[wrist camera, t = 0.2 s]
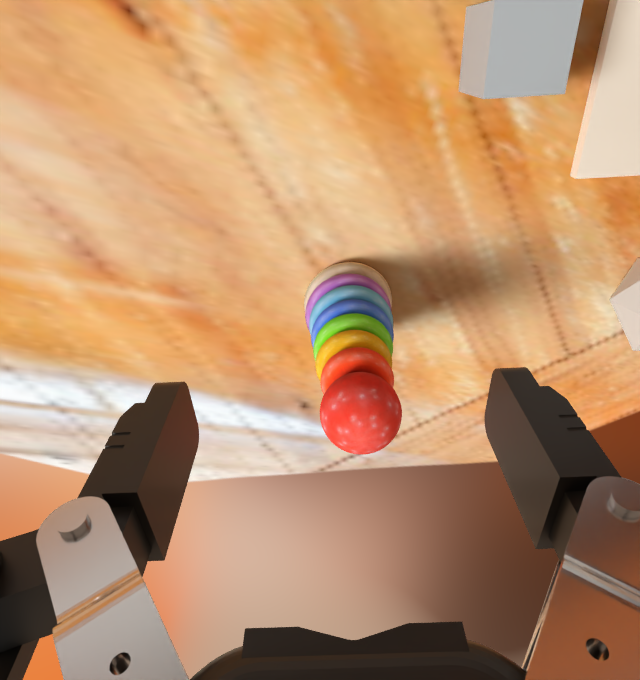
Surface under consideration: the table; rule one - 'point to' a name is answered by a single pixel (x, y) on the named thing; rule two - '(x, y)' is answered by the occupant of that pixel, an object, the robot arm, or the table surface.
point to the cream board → (613, 100)
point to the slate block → (518, 47)
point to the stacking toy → (354, 356)
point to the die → (629, 305)
